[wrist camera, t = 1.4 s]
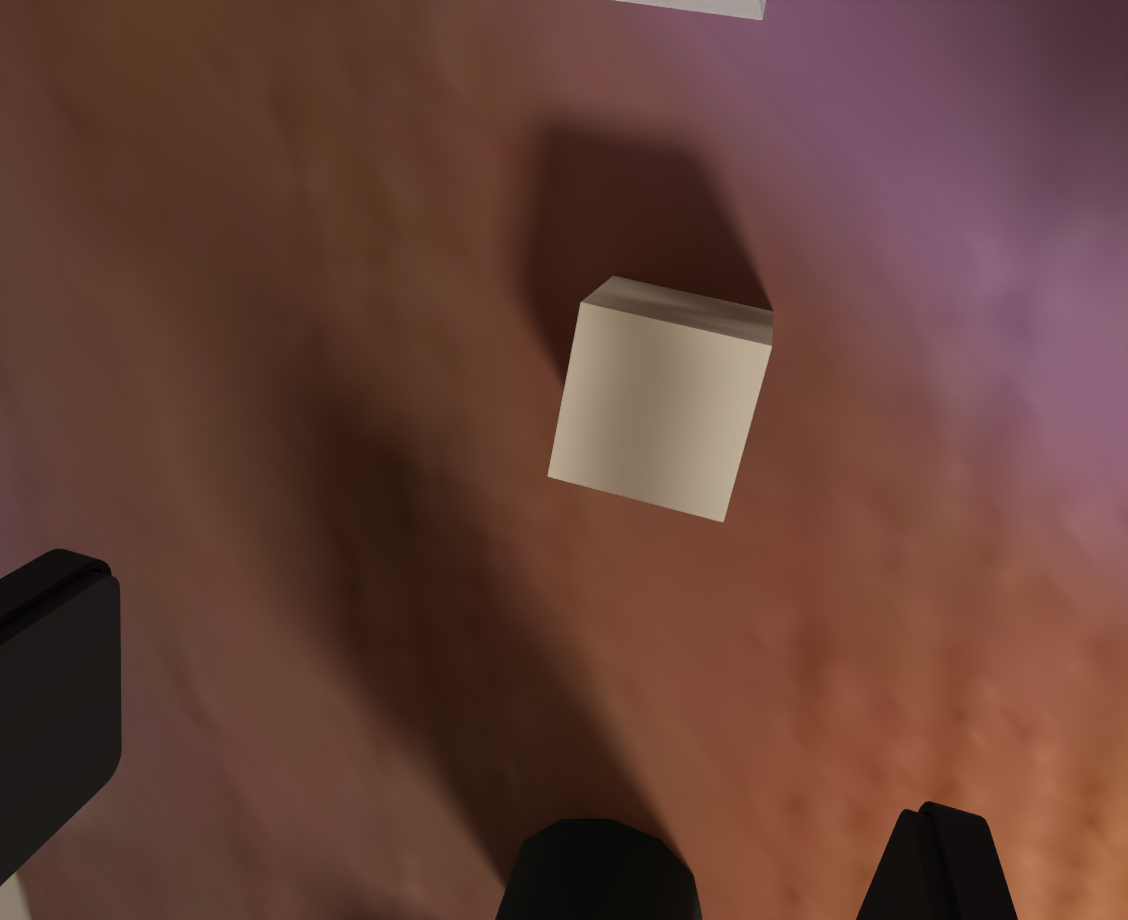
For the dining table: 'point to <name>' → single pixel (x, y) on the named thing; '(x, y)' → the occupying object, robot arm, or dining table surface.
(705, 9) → the base block
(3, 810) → the robot arm
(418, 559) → the dining table surface
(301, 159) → the dining table surface
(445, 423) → the dining table surface
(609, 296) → the maple cube
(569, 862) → the wine bottle
